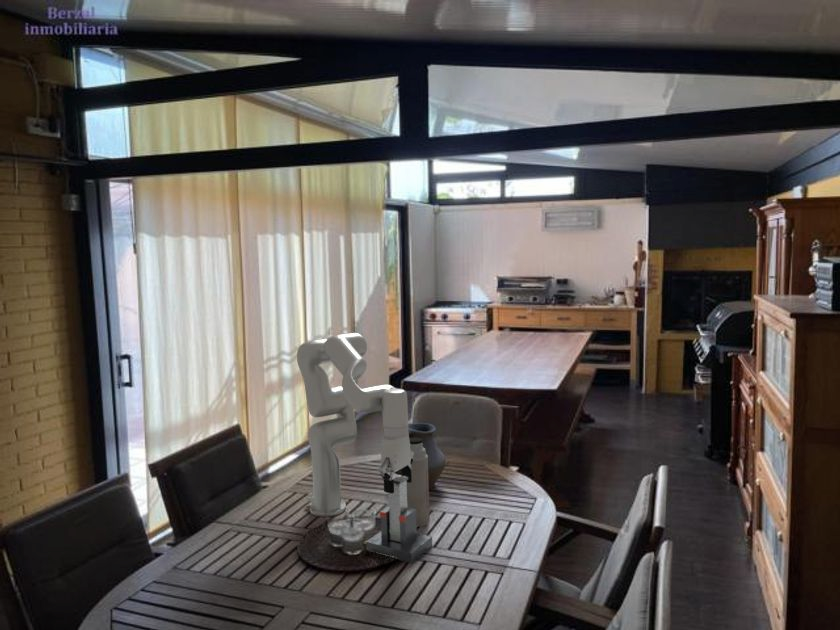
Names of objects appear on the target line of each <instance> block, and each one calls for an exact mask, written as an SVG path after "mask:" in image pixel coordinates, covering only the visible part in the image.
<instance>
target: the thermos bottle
mask: <svg viewBox="0 0 840 630" xmlns="http://www.w3.org/2000/svg"><path fill="white" fill-rule="evenodd" d="M409 440H410V449H411V451H413V452H414V455H413V458H412V459H413V462H412V469H411V476H412V482H410V483H409V482H407V510H408V509H410V508H411V509H416V528H417V527H424V526H427V525H428V524H429V523H430V522H431V521H430V491H429V490H430V489H429V483H428V455H427V454H426V451H425V448H424V447H423V444H422V439H421V438H410V439H409Z"/></svg>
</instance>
